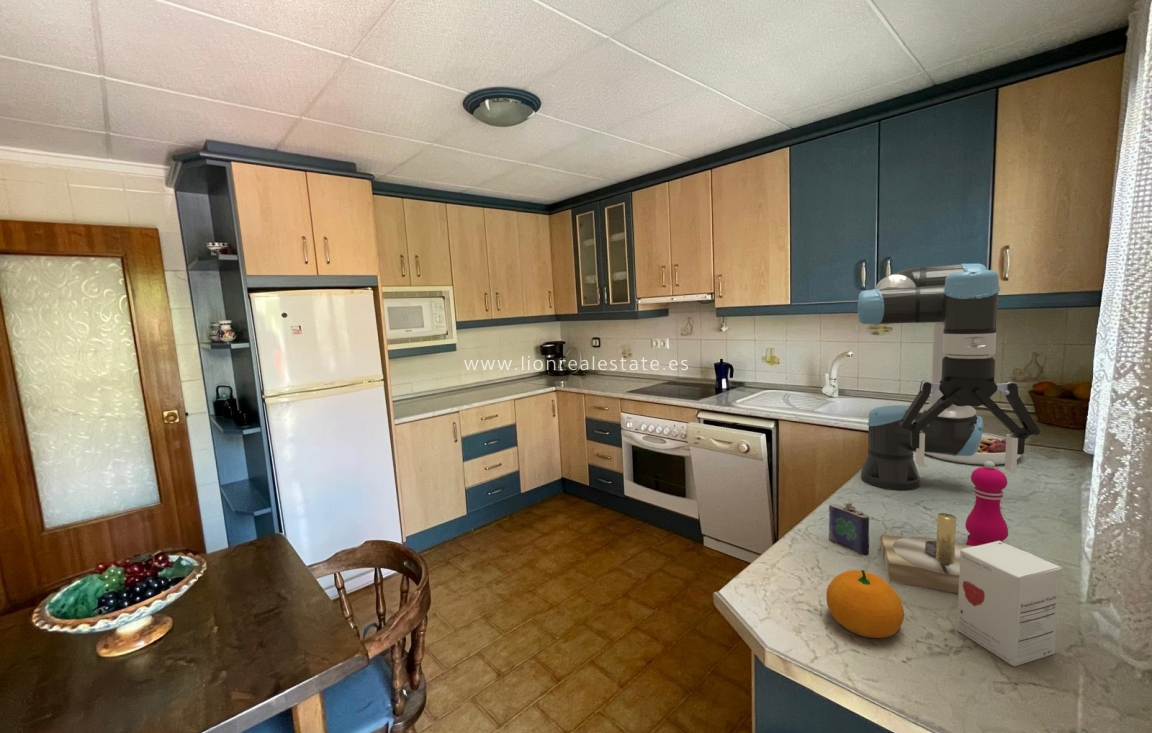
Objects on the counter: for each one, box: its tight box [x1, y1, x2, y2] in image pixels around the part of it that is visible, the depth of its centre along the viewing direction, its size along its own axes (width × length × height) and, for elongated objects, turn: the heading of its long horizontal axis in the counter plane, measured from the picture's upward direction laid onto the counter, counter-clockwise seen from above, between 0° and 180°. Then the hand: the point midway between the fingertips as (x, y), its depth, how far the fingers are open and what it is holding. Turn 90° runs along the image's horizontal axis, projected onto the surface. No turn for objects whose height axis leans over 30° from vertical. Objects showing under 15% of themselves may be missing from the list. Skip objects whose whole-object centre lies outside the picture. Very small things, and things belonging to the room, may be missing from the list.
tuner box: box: [879, 533, 973, 594], centre depth 96 cm, size 15×18×4 cm
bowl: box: [924, 432, 1022, 466], centre depth 164 cm, size 30×30×8 cm
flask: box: [828, 501, 870, 557], centre depth 108 cm, size 9×3×11 cm, turn 26°
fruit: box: [826, 569, 905, 639], centre depth 82 cm, size 12×12×10 cm
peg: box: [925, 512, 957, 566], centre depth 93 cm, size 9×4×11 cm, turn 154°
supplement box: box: [956, 541, 1063, 667], centre depth 76 cm, size 9×9×15 cm
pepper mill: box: [964, 461, 1009, 546], centre depth 103 cm, size 7×7×20 cm
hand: (963, 467), depth 88 cm, fingers open, 13 cm apart
